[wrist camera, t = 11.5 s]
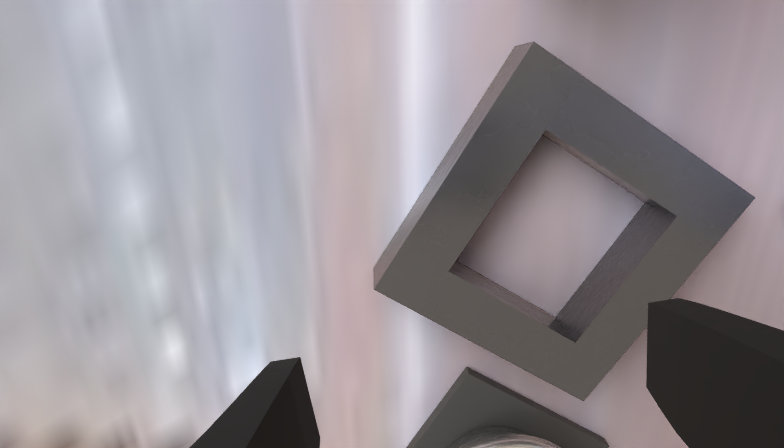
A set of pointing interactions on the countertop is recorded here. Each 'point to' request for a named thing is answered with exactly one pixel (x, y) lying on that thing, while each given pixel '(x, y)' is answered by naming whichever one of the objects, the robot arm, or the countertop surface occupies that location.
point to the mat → (497, 416)
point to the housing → (614, 271)
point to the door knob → (500, 439)
